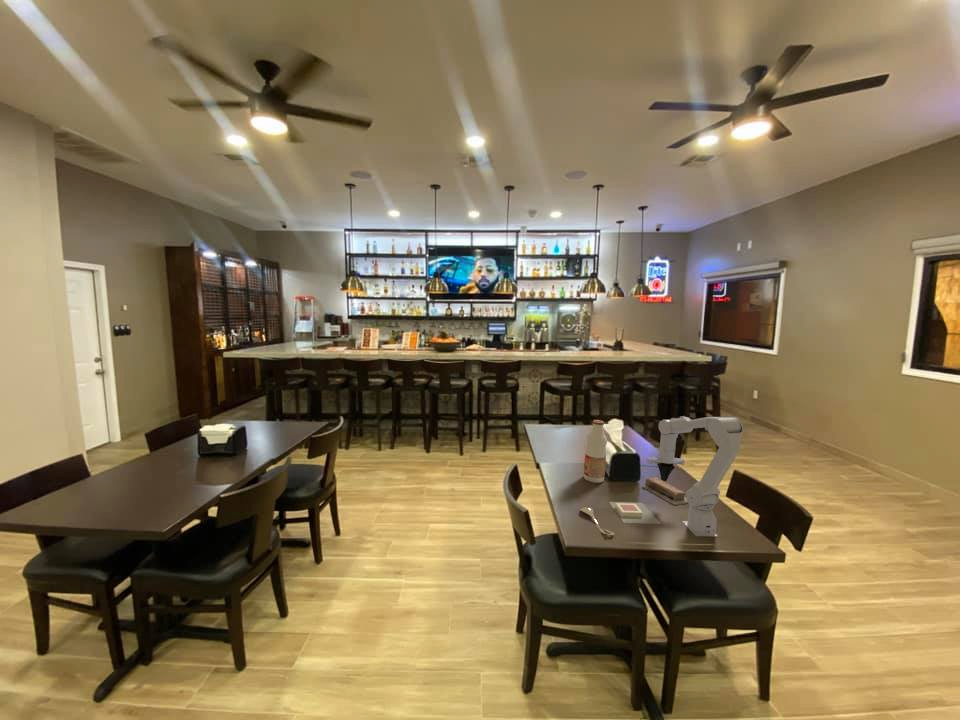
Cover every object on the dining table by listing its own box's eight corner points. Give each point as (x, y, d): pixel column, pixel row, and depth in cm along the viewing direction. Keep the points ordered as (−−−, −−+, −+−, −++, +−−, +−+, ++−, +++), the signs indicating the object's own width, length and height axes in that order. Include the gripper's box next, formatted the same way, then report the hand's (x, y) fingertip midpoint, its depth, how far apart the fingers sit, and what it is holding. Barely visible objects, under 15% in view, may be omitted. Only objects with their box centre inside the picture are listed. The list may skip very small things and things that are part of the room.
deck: (642, 512, 151) (622, 511, 151) (642, 517, 151) (621, 516, 151) (635, 503, 158) (615, 503, 158) (634, 507, 158) (615, 507, 158)
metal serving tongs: (618, 528, 137) (606, 529, 136) (618, 538, 137) (606, 539, 136) (588, 503, 156) (577, 504, 155) (588, 512, 156) (577, 513, 155)
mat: (660, 524, 147) (660, 523, 147) (623, 523, 147) (624, 522, 147) (642, 503, 163) (642, 502, 163) (608, 502, 163) (608, 501, 162)
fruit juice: (596, 485, 179) (601, 425, 175) (579, 477, 186) (583, 420, 182) (608, 480, 185) (613, 422, 181) (590, 473, 192) (595, 417, 188)
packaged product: (642, 477, 178) (658, 475, 182) (641, 488, 179) (657, 485, 183) (675, 495, 162) (692, 492, 166) (674, 507, 162) (691, 503, 166)
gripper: (679, 445, 164) (675, 476, 166) (645, 444, 164) (642, 475, 166) (688, 451, 157) (685, 484, 159) (653, 450, 157) (649, 483, 159)
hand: (663, 480), depth 162 cm, fingers closed
